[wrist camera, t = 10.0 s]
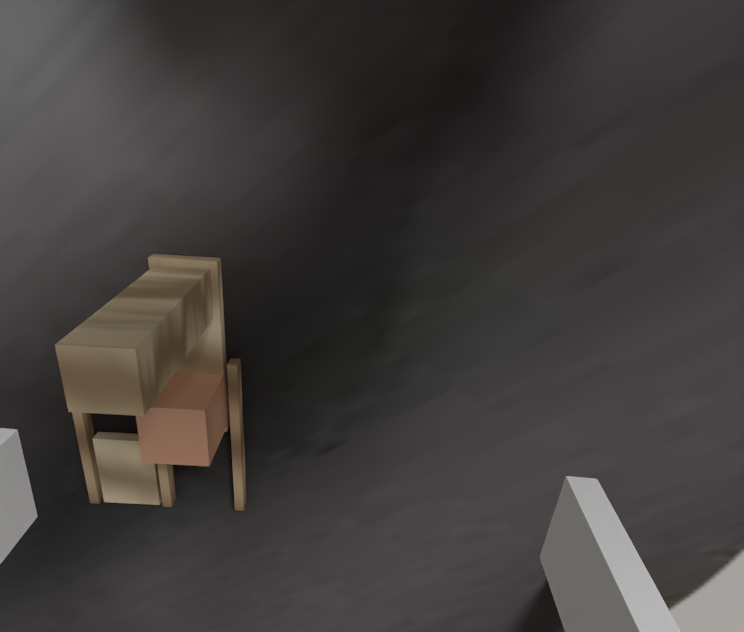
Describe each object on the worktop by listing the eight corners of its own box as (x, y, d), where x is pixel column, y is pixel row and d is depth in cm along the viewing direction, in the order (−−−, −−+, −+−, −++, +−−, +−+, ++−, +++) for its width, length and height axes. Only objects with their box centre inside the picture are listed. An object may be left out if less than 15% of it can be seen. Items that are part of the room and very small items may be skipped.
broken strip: (83, 349, 42) (76, 355, 41) (145, 353, 42) (140, 359, 41) (109, 494, 48) (104, 502, 47) (163, 496, 48) (159, 504, 47)
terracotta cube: (161, 371, 41) (134, 406, 37) (223, 375, 41) (205, 410, 37) (166, 423, 43) (142, 462, 39) (226, 426, 43) (209, 466, 39)
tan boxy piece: (153, 253, 38) (42, 335, 26) (220, 257, 39) (144, 340, 26) (171, 421, 44) (89, 555, 32) (230, 424, 44) (172, 559, 32)
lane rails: (68, 349, 42) (60, 356, 40) (240, 358, 42) (236, 365, 41) (96, 493, 48) (90, 503, 46) (246, 501, 48) (243, 510, 47)
